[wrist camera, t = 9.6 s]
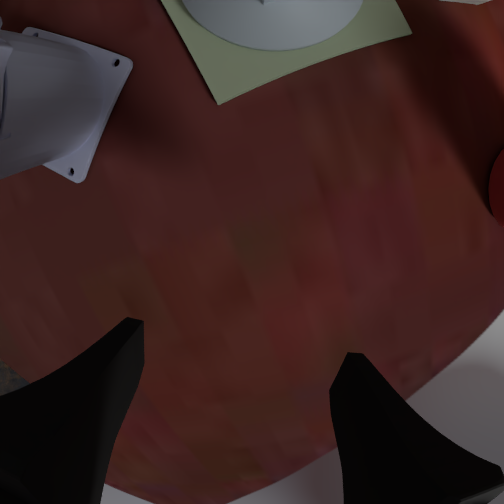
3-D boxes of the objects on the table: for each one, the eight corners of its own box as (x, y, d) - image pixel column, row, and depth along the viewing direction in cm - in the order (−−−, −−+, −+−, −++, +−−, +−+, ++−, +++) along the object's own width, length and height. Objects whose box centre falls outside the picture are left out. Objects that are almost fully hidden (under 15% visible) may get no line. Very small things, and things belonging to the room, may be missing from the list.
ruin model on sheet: (63, 401, 27) (29, 470, 18) (57, 411, 28) (25, 475, 19) (-16, 337, 24) (-63, 394, 16) (-18, 351, 25) (-60, 405, 16)
